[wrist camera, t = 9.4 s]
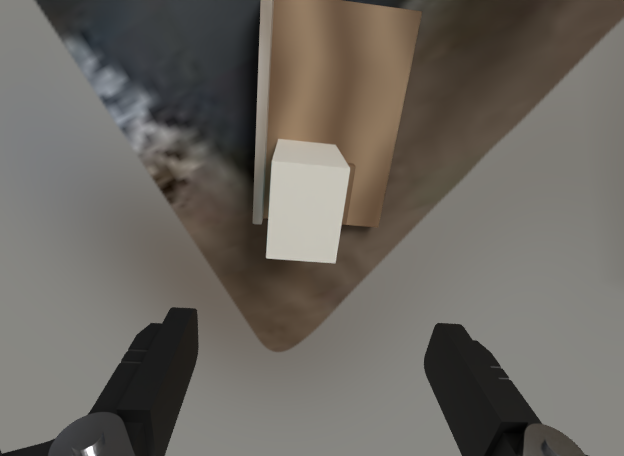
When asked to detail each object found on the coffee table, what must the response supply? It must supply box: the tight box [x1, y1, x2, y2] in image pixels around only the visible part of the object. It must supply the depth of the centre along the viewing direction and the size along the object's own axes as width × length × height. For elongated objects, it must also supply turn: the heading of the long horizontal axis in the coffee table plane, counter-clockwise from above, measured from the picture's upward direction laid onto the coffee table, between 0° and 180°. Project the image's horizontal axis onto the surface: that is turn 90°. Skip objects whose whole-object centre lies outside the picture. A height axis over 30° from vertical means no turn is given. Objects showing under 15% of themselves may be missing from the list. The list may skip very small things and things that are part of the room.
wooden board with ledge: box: [253, 0, 422, 227], centre depth 28 cm, size 12×18×3 cm, turn 174°
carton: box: [266, 139, 350, 263], centre depth 26 cm, size 5×7×8 cm
